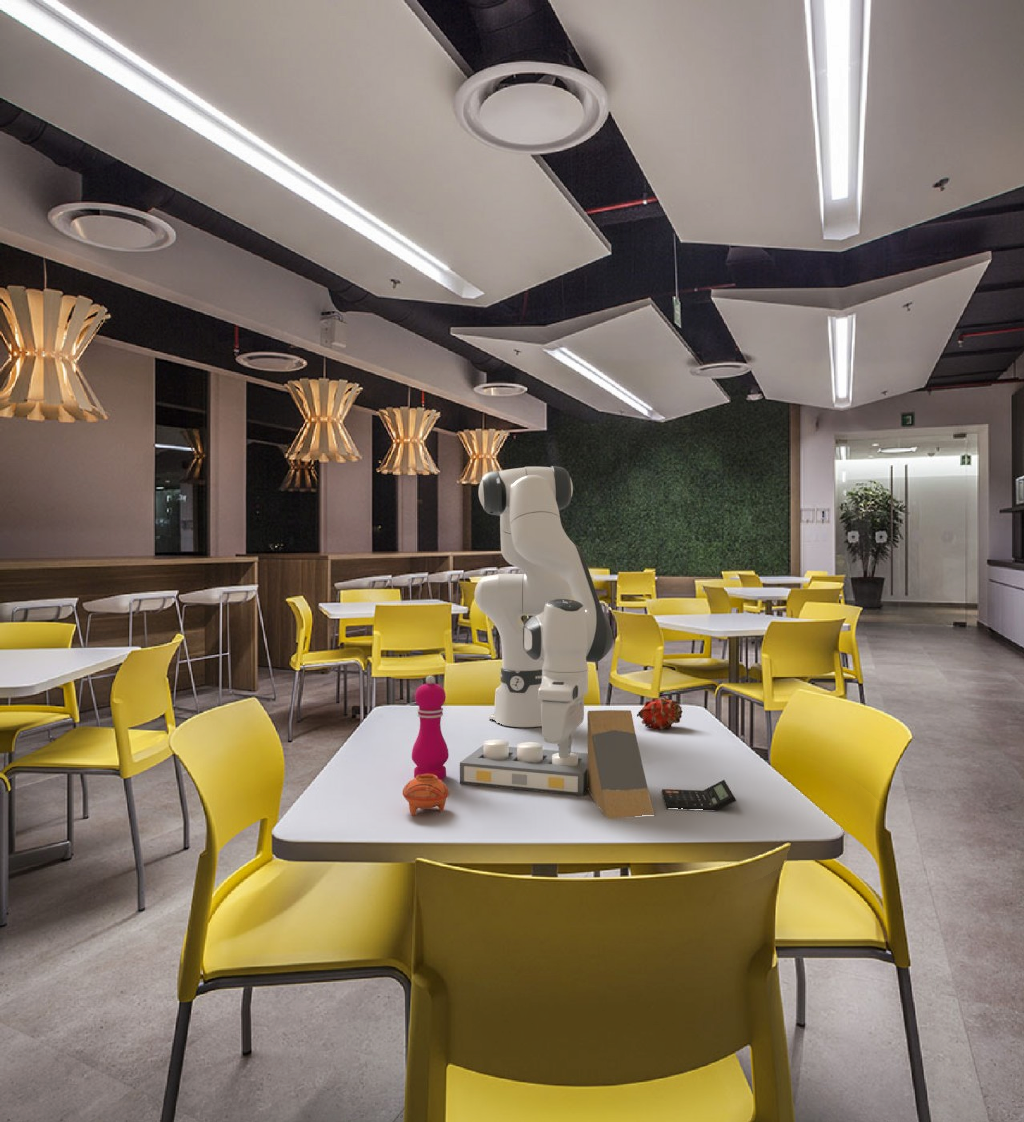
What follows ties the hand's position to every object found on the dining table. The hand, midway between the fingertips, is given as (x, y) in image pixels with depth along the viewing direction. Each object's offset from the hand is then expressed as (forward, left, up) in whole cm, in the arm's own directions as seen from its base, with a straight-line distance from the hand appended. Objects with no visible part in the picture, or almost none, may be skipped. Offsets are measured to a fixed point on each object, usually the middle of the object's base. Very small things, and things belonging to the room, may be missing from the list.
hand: (564, 756), depth 141 cm
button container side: (0, 0, -4) cm, 4 cm away
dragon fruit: (-51, +13, -5) cm, 53 cm away
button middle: (0, -7, -3) cm, 8 cm away
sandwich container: (+8, +12, -5) cm, 16 cm away
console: (0, -7, -5) cm, 9 cm away
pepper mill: (+5, -26, -5) cm, 27 cm away
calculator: (+4, +25, -6) cm, 26 cm away
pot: (+23, -19, -5) cm, 30 cm away
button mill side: (0, -14, -3) cm, 14 cm away
